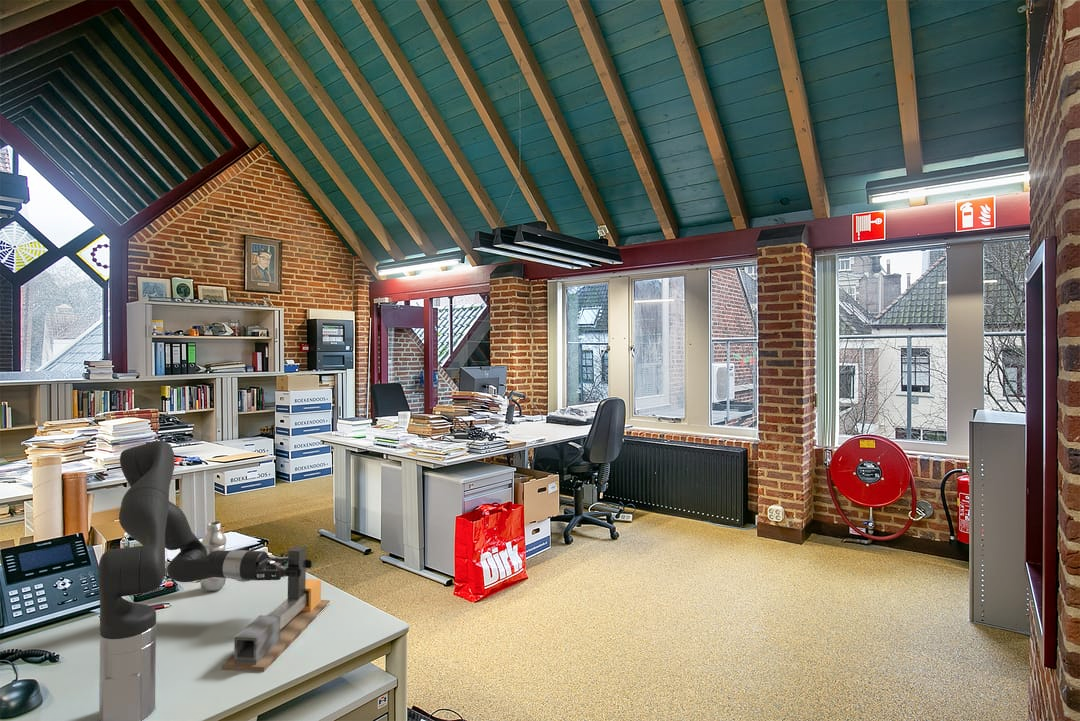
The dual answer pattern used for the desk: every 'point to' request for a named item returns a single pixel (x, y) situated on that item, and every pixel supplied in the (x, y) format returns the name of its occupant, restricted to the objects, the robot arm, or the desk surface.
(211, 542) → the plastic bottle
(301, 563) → the slide bolt
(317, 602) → the far socket
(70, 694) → the desk surface
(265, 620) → the bolt guide base
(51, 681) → the desk surface
